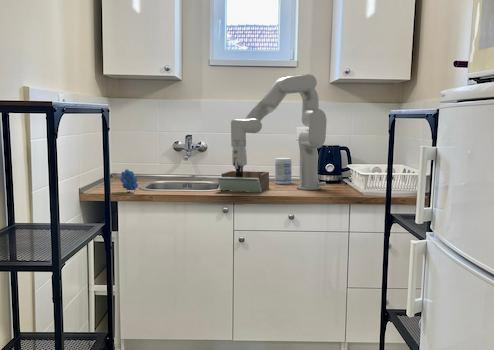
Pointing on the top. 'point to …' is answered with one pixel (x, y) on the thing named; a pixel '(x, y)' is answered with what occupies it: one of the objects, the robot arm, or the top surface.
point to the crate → (252, 174)
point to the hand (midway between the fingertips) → (239, 179)
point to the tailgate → (239, 184)
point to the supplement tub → (283, 170)
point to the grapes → (129, 180)
